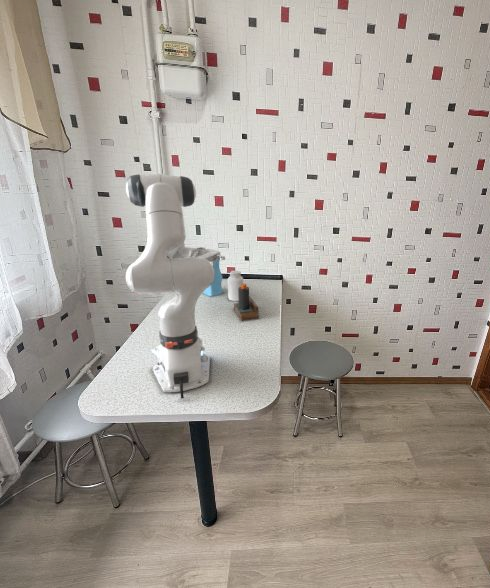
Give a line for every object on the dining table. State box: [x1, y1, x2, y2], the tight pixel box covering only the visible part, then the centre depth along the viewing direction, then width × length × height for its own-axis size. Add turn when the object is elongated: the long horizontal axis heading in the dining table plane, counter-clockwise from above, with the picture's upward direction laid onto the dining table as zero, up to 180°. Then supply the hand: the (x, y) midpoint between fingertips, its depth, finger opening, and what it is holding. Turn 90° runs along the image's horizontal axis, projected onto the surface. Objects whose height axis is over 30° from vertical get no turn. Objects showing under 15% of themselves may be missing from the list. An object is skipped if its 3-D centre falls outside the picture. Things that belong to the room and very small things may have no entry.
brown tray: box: [233, 295, 259, 322], centre depth 158 cm, size 14×8×6 cm, turn 26°
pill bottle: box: [227, 270, 244, 302], centre depth 173 cm, size 8×8×15 cm
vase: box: [202, 259, 224, 297], centre depth 178 cm, size 8×8×20 cm
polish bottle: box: [238, 282, 250, 310], centre depth 156 cm, size 5×5×12 cm
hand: (219, 261), depth 152 cm, fingers open, 8 cm apart
